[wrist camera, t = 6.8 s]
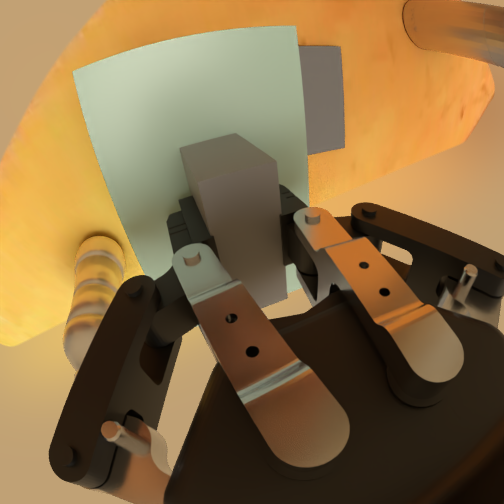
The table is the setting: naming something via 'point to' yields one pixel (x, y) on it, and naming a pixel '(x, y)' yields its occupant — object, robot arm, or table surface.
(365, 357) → the robot arm
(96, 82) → the lid
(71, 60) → the table surface
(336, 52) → the rubber mat
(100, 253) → the plastic bottle
